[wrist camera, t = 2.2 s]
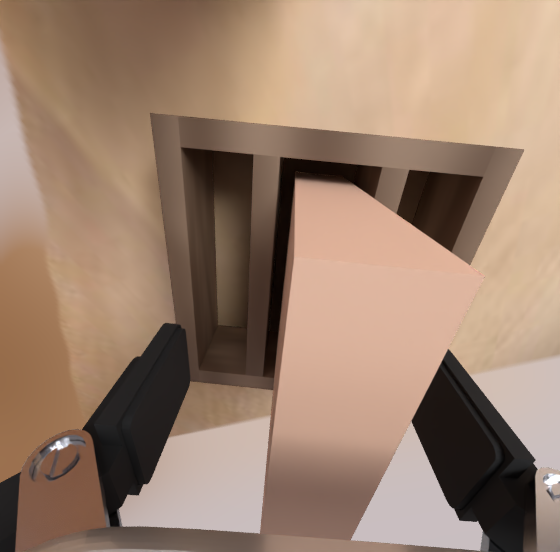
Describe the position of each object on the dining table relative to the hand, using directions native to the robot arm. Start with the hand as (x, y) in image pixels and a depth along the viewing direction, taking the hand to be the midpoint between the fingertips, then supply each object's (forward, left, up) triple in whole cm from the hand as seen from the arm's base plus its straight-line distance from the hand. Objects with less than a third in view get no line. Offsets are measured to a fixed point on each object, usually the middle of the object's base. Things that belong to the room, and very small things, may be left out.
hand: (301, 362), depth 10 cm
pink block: (-1, 0, -10) cm, 10 cm away
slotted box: (-1, 0, -10) cm, 10 cm away
